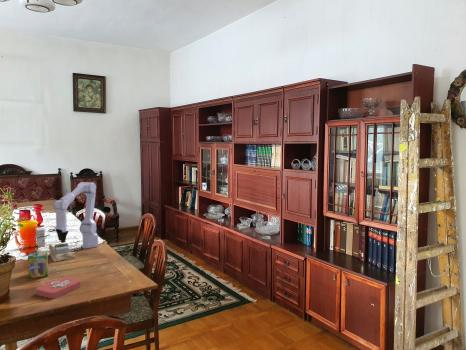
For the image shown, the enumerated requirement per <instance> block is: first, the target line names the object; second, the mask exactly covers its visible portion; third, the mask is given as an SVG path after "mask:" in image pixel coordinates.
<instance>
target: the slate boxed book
mask: <svg viewBox="0 0 466 350" xmlns="http://www.w3.org/2000/svg"><path fill="white" fill-rule="evenodd" d="M54 248H55V247H54ZM55 250H56V255H58V254H65V253H69V251H70V249H69V245H68V246H64V247H57V248H55Z"/></svg>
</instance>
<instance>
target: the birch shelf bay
mask: <svg viewBox="0 0 466 350" xmlns="http://www.w3.org/2000/svg"><path fill="white" fill-rule="evenodd" d="M64 246H68V247H69V243H68V242H64V243H57V244H54V246H53V245H52V244H48V251H49V252H48V253H49V256H50V257H51V260H52V261H54V263H55V262H60V261H67V260H73V259H77V258H76V257H77V256H76V255H77V254H76V251H71V250H69V253H65V254H58V255H56V250H55V248H57V247H64Z"/></svg>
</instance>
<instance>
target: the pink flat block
mask: <svg viewBox="0 0 466 350" xmlns="http://www.w3.org/2000/svg"><path fill="white" fill-rule="evenodd" d="M80 286H81V287H82V280H81V279H78V278H74V277H69V276H63V277H59V278H58V279H54V280H45V282H44V284H43V285H41V286H39V287H36V288H35V295H36V296H38V295H39V296H38V297H42V296H44V297H43V298H46V297H48V298H47V299H50V298H53V299H56V298H55V297H57V298H59V297H61V296H63V295H65V294H64V293H66V292H68V293H70V292H72V291H74V290H77V289H79V288H81V287H80ZM78 287H79V288H78ZM76 288H77V289H76ZM73 289H74V290H73ZM71 290H72V291H71ZM69 291H70V292H69ZM62 294H63V295H62ZM66 294H67V293H66ZM60 295H61V296H60ZM58 296H59V297H58Z"/></svg>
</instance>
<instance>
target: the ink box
mask: <svg viewBox="0 0 466 350" xmlns="http://www.w3.org/2000/svg"><path fill="white" fill-rule="evenodd" d="M36 238H37V245H38V247H37V248H40V247H45V246H46V239H45V238H46V234H45V228H44V227H39V228H37V231H36Z"/></svg>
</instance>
